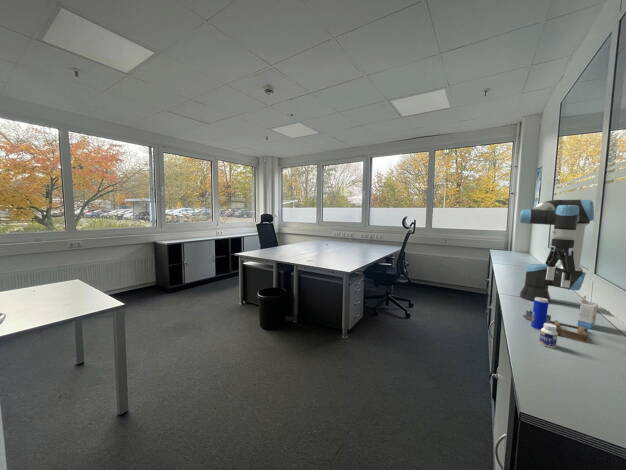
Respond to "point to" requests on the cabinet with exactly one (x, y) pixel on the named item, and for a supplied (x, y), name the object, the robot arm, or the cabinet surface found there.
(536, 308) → the beverage can
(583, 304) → the ink box
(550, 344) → the pill bottle
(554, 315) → the cabinet surface
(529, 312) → the latch block with knob
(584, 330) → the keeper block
